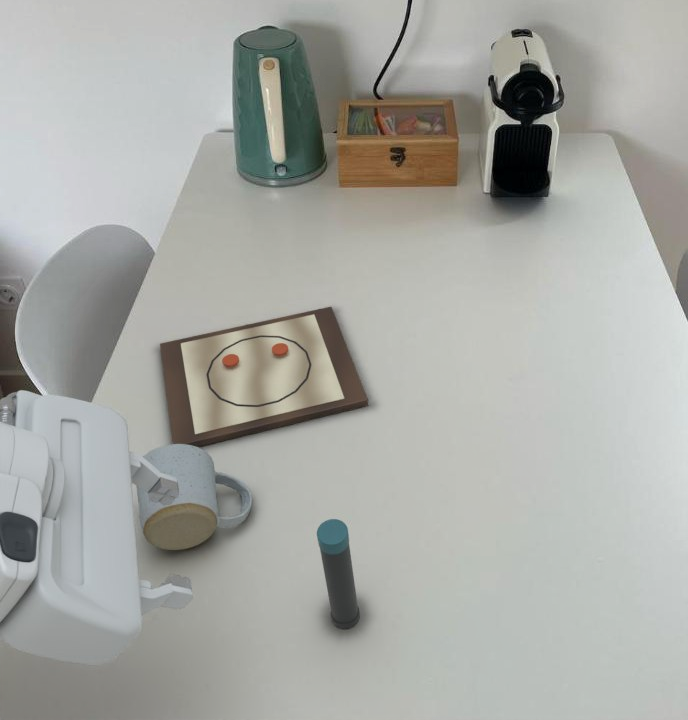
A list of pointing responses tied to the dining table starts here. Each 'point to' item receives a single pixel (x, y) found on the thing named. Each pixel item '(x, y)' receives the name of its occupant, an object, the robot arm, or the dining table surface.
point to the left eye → (230, 360)
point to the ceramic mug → (188, 499)
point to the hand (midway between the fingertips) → (180, 540)
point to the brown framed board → (258, 378)
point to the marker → (338, 572)
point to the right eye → (279, 349)
